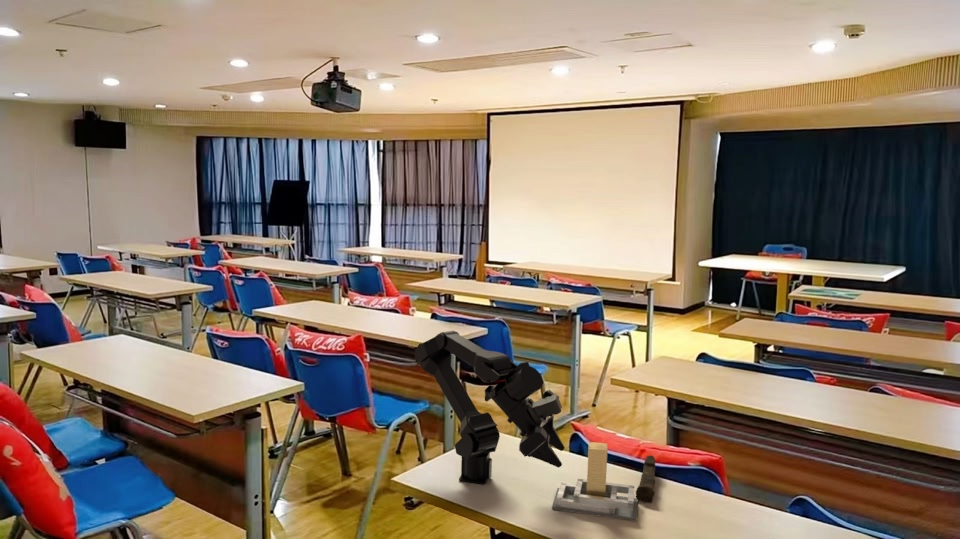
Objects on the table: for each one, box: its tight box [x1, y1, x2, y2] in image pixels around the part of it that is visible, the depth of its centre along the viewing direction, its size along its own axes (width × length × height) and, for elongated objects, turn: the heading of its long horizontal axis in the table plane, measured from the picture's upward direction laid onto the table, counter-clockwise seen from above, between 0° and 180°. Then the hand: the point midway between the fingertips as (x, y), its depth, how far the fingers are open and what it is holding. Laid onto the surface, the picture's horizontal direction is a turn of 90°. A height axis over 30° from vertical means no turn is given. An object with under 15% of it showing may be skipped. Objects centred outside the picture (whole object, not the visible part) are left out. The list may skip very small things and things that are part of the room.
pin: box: [586, 441, 608, 497], centre depth 147 cm, size 4×4×13 cm
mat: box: [551, 487, 638, 522], centre depth 147 cm, size 18×10×1 cm, turn 76°
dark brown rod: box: [635, 455, 656, 504], centre depth 158 cm, size 19×4×5 cm, turn 159°
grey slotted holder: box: [556, 478, 635, 515], centre depth 147 cm, size 16×9×3 cm, turn 76°
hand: (562, 457), depth 149 cm, fingers open, 9 cm apart
